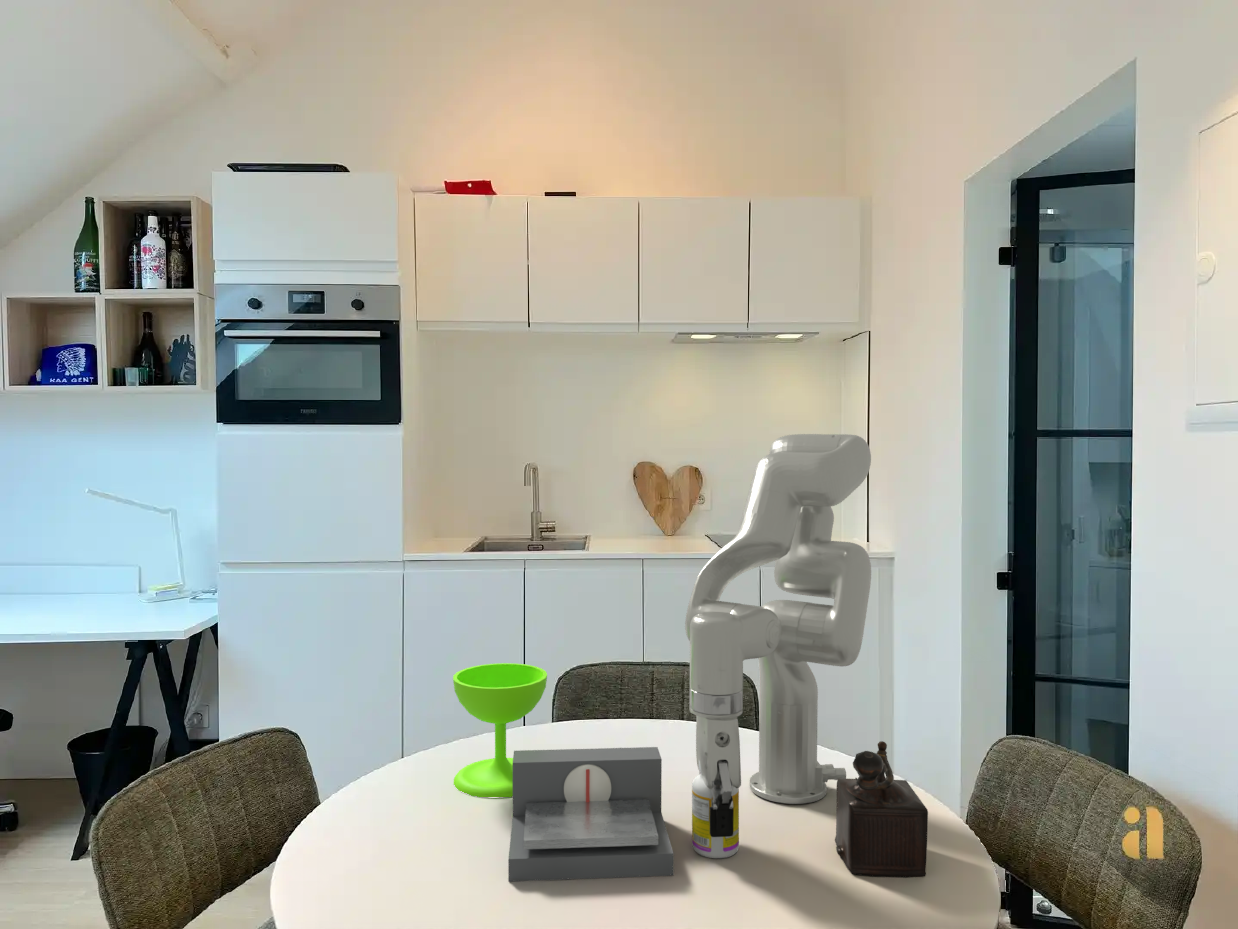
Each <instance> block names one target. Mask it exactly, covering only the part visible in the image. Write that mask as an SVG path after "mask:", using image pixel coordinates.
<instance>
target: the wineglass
mask: <svg viewBox="0 0 1238 929" xmlns="http://www.w3.org/2000/svg"><path fill="white" fill-rule="evenodd" d="M452 676H453V677H452V680H453V688H454V692H455V694H456V697H457V700H458V701H459V704H460V705H461V706H462V707H463V708H464V709H465V710H466V712H468V714H469V715H471V716H473V717H474V718H475V719H477V720H479V721H481V722H485V723H489V724H494V758H486V759H482V760H478V761H475V762H472V763H469V764H466V766H464V767H462V768H461V769H460V770H458V771H457V773H456V774H455V775H454V778H453V786H454V785H455V786H454V788H455V787H456V788H457V789H458V790H457V789H456V788H455V789H456V790H457V791H458V792H460V791H462V792H464V793H467V794H469V795H468V796H470V795H471V796H470V797H475V796H477V797H476V798H480V797H509V798H513V797H512V796H513V757H507V724H509V723H512V722H515V721H518V720H521V719H522V718H524V717H525V716H526V715H528V714H529V713H530V712H532V711H533V710H534V708H536V706H537V705H538V703H539V702H540V701H541V699H542V697H543V695H544V693H545V690H546V688H547V682H548V681H547V679H548V673H547V671H546V670H545V669H543V668H541V667H538V666H537V665H535V666H534V665H532V664H526V663H525V664H523V663H513V662H512V663H510V662H503V663H502V662H500V663H486V664H479V665H474V666H469V667H466V668H464V669H461V670H459V671H456V672H455V674H453V675H452ZM462 792H461V793H462ZM464 793H463V794H464ZM467 794H466V795H467Z"/></svg>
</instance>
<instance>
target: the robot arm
mask: <svg viewBox="0 0 1238 929" xmlns="http://www.w3.org/2000/svg"><path fill="white" fill-rule="evenodd" d="M871 453H872V452H871V449H870V446H869V444H868V442H867V441H866V440H865V439H864V438H863V437H862V436H859V435H857V434H845V433H844V434H843V433H842V434H840V433H839V434H835V433H834V434H833V433H832V434H831V433H830V434H829V433H828V434H823V433H821V434H820V433H819V434H818V433H798V434H788V435H784V436H780V437H778V438H776V439H775V440H774V441H773V442H772V443H771V445H770V448H769V454H766V455H764V456H763V457H762V458H761V459H759V461H758V462H757V464H756V466H755V469H754V472H753V474H752V479H751V483H750V486H749V490H748V493H747V497H746V501H745V504H744V509H743V510H742V516H741V519H740V522H739V527H738V530H737V532H736V535H735V536H734V537H733V538H732V539H731V540H730V541H729V542H727V543H726V544H725V545H724V546H722V547H721V548H720V549H719V550H718V551H717V552H715V554H714V555H713V556H712V557H711V558H710V559H709V560H708V561H707V562H706V563H705V564H704V565H703V567H702V569H701V570H700V571H699V574H698V575H697V577H696V579H695V581H694V584H693V585H694V586H693V588H692V592H691V595H690V599H689V602H688V606H687V610H686V614H685V622H684V624H685V626H684V627H685V628H684V629H685V634H686V637H687V639H688V641H689V712H690V713H691V714H692V715H695V716H696V724H695V728H696V729H695V733H696V734H695V754H696V755H695V756H696V766H697V769H698V771H699V774H700V770H699V768H698V767H699V761H700V765H701V772H702V773H701V774H702V778H703V781H704V783H705V785H706V786H707V787H708V788H709V789H711V800H712V807H710V835H711V837H731V836H733V798H732V787H731V783H732V785H733V787H736V788H741V786H742V770H741V744H740V741H741V740H740V730H739V721H738V717H740V716H741V715H742V714H743V711H744V708H743V707H744V705H743V704H744V703H743V702H744V697H743V696H744V694H743V693H744V661H745V660H752V659H754V660H755V659H758V668H759V669H758V670H759V705H758V706H759V710H758V711H759V715H758V716H759V718H758V719H759V720H758V721H759V723H758V724H759V725H758V726H759V727H758V728H759V729H758V734H759V735H758V736H759V738H758V739H759V742H758V743H759V744H758V749H759V750H758V771H757V772H756V773H754V774H753V775H751V777H750V778H749V789H750V790H751V791H752V793H754V794H755V795H756V796H758V797H760V798H762V799H764V800H767V801H770V802H775V803H780V804H786V805H787V804H789V805H801V804H802V805H803V804H810V803H814V802H818V801H820V800H822V799H823V798H824V797H825V796H826V794H827V783H828V780H829V781H830V780H833V781H837V780H838V778H846V779H847V771H846V768H845V767H835V766H834V764H833V763H826V764H820V763H819V761H818V712H819V710H818V708H819V706H818V704H819V703H818V699H819V698H818V697H819V696H818V695H819V689H818V683H817V680H816V677H815V675H814V672H813V671H812V669H811V668H810V666H809V664H808V663H812V664H813V663H814V664H820V665H826V666H833V667H848V666H851V665H852V664H854V663H855V662H856V661H857V660H858V657H859V655H860V652H861V648H862V643H863V640H864V639H863V637H864V631H865V625H866V618H867V613H868V612H867V611H868V604H869V599H870V598H869V597H870V591H871V585H872V584H871V581H872V564H871V560H870V559H871V558H870V556H869V554H868V551H867V550H866V548H864V547H863V546H861V545H860V544H857V543H856V542H855V543H854V542H851V541H850V542H849V541H840V540H839V541H838V540H832V536H833V535H832V534H833V528H834V522H835V521H834V520H835V515H834V511H833V508H832V507H835V506H837V505H839V504H841V503H842V502H844V501H845V500H846V499H847V498H848V497H849V496H850V495H851V494H852V493H853V492H854V491H856V490H857V489H858V488H859V487H860V486H861V485H862V484H863V482H865V480H866V478H867V476H868V475H869V472H870V468H871V463H872V454H871ZM774 561H775V564H774V569H773V570H774V571H773V572H774V573H773V574H774V583H775V584H776V585H777V587H778V589H781V590H782V591H783V592H786V593H789V594H792V595H793V594H794V595H799V596H809V597H817V598H826V599H833V600H834V601H833V604H823V603H822V604H821V603H815V602H814V603H813V602H809V601H799V600H792V599H791V600H790V599H775V600H774V599H773V600H771V601H767V602H765V603H764V604H762V605H761V606H760V605H759V606H758V605H751V604H745V603H744V604H742V603H738V602H731V601H723V600H720V599H721V596H722V595H723V592H724V591H725V589H726V588H727V586H728V585H729V584H731V582H733V581H734V580H735V579H736V578H737V577H739V576H740V575H743V574H744V573H746V572H749V571H751V570H753V569H756V568H758V567H761V566H764V565H766V564H769V563H771V562H774ZM717 769H718V770H717ZM699 774H698V775H699ZM719 781H720V784H718V785H714V782H719ZM716 791H720V792H721V794H718V797H717V798H716Z"/></svg>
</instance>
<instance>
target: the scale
mask: <svg viewBox="0 0 1238 929" xmlns="http://www.w3.org/2000/svg"><path fill="white" fill-rule="evenodd" d="M512 758H513V797H512V818H511V819H512V821H511V830H510V841H509V851H508V861H507V862H508V866H507V867H508V868H507V869H508V870H507V871H508V878H507V879H508V882H527V881H530V882H531V881H535V882H536V881H555V880H580V879H581V880H585V879H610V878H612V879H613V878H634V877H635V878H636V877H637V878H639V877H640V878H641V877H660V876H661V877H664V876H665V877H666V876H667V877H668V876H674V851H673V847H672V844H671V840H670V837H669V834H668V829H667V827H666V824H665V820H664V816H663V813H662V772H663V771H662V767H663V766H662V760H663V759H662V757H661V754H660V750H659V748H658V746H651V747H650V746H645V747H644V746H643V747H610V748H609V747H607V748H606V747H604V748H602V747H601V748H568V749H567V748H566V749H564V748H563V749H562V748H561V749H533V750H531V749H530V750H529V749H528V750H526V749H523V750H521V749H520V750H513V756H512ZM639 799H648V800H649V803H650V807H651V811H652V814H653V818H654V822H655V826H656V829H657V833H658V845H639V846H609V847H580V848H551V849H524V829H525V814H526V803H539V802H582V801H586V802H589V801H608V800H639Z"/></svg>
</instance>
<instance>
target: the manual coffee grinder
mask: <svg viewBox="0 0 1238 929" xmlns="http://www.w3.org/2000/svg"><path fill="white" fill-rule="evenodd" d="M877 748H878V750H877V751H876V752H874V751H869V750H864V751H861V752H858V753H856V754H855V758H854V760H853V762H852V767H853V769H854V770H855V771H856V773H857V775H858V777H855V778H847V777H846V778H838V780H836V804H835V805H836V808H835V809H836V814H835V815H836V816H835V819H836V821H835V823H836V825H835V826H836V827H835V837H834V842H835V845H836V846H835V851H836V852H837V854H838V856H839V857H840V859H841V860H842V862H843V864H844V865H845V867H846V868H847V870H848V871H849V872H850V874H852V875H859V876H866V877H877V878H881V877H882V878H885V877H886V878H914V877H915V878H921V877H922V878H923V877H926V875H927V872H926V870H927V853H928V822H929V820H928V819H929V816H928V815H929V811H928V809H927V807H926V805H925V804H924V803H923V802H922V799H920V797H919V796H918V794H916V792H915V791H914V789H913V788H912V786H911V785H910V784H909V782H908V781H907V780H905V779H895V776H894V772H893V770H892V768H891V765H890V763H889V760H888V755H887V754H888V752H887V748H888V744H887V743H886V741H882V740H881V741H879V742H878V743H877Z"/></svg>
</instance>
